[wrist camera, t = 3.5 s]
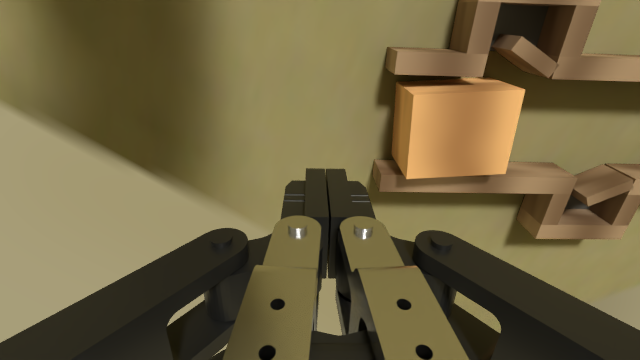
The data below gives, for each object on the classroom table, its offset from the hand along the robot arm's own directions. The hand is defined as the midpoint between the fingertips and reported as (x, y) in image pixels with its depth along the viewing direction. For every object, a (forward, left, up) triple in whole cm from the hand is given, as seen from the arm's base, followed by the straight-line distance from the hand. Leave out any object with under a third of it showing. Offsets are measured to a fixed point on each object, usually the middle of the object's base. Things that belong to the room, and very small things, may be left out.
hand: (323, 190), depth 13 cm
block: (+8, 0, -10) cm, 13 cm away
